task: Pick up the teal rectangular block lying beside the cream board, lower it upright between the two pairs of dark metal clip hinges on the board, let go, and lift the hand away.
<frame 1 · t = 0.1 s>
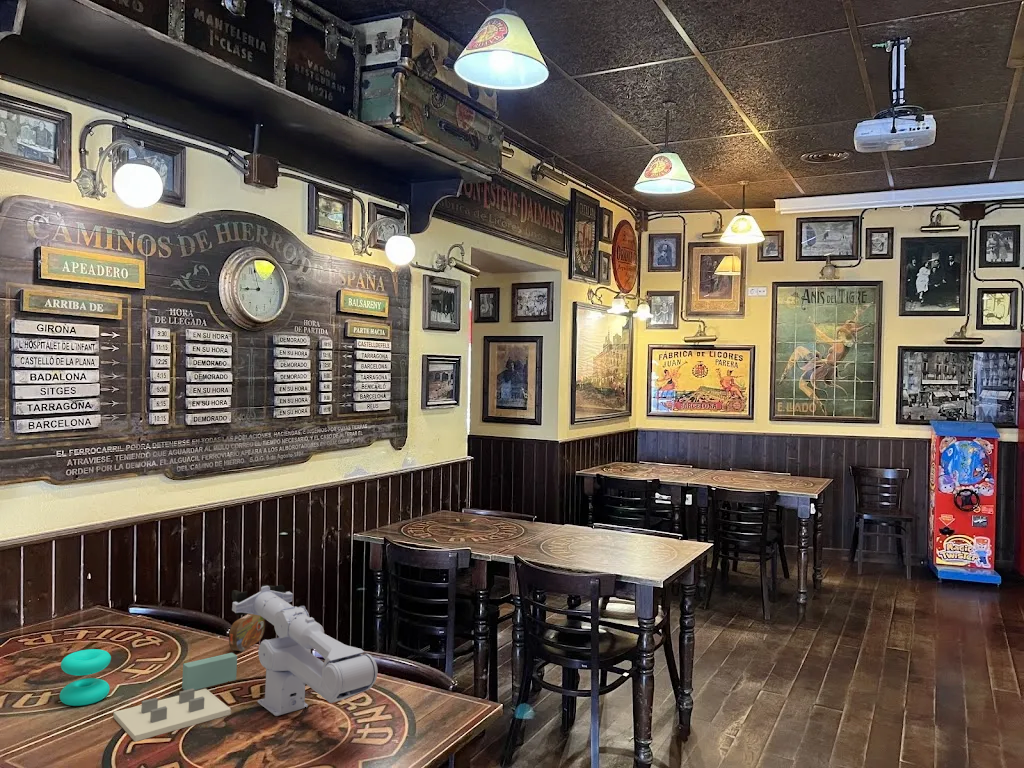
hand: (248, 591, 186), 22 cm above the table, tool horizontal, fingers open, 7 cm apart
teal rectangular block: (209, 684, 182), on the table
donuts: (84, 699, 171), on the table
hinge board: (172, 715, 164), on the table
tin: (246, 646, 208), on the table
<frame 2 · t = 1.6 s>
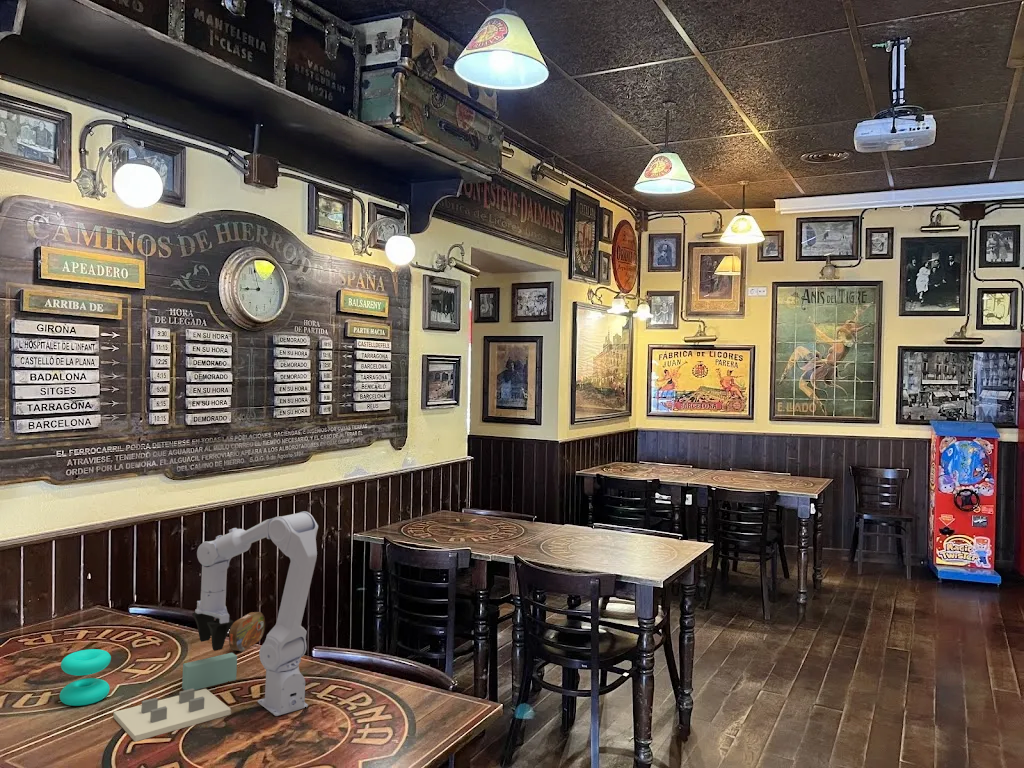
hand: (211, 645, 182), 9 cm above the table, tool pointing down, fingers open, 7 cm apart
nothing on the table moved.
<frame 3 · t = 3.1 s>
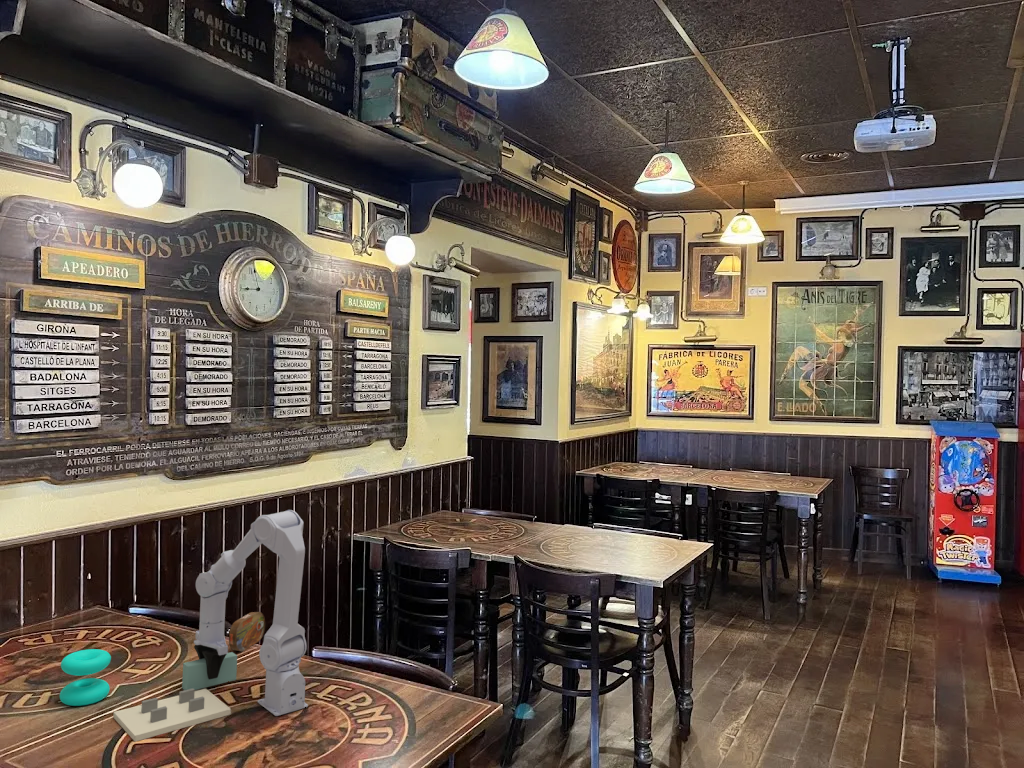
hand: (209, 675, 182), 2 cm above the table, tool pointing down, fingers closed on teal rectangular block, 3 cm apart
teal rectangular block: (209, 683, 182), on the table, touching gripper
everything else where it was.
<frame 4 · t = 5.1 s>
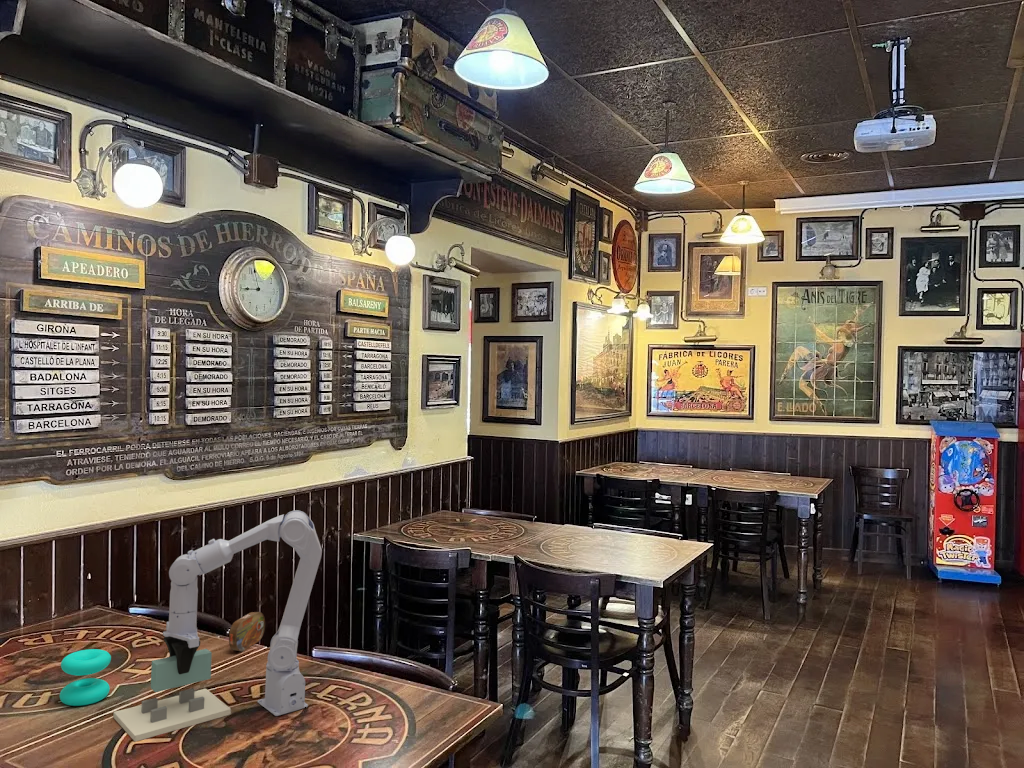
hand: (180, 670, 167), 9 cm above the table, tool pointing down, fingers closed on teal rectangular block, 3 cm apart
teal rectangular block: (181, 683, 167), point 6 cm above the table, touching gripper
everything else where it was.
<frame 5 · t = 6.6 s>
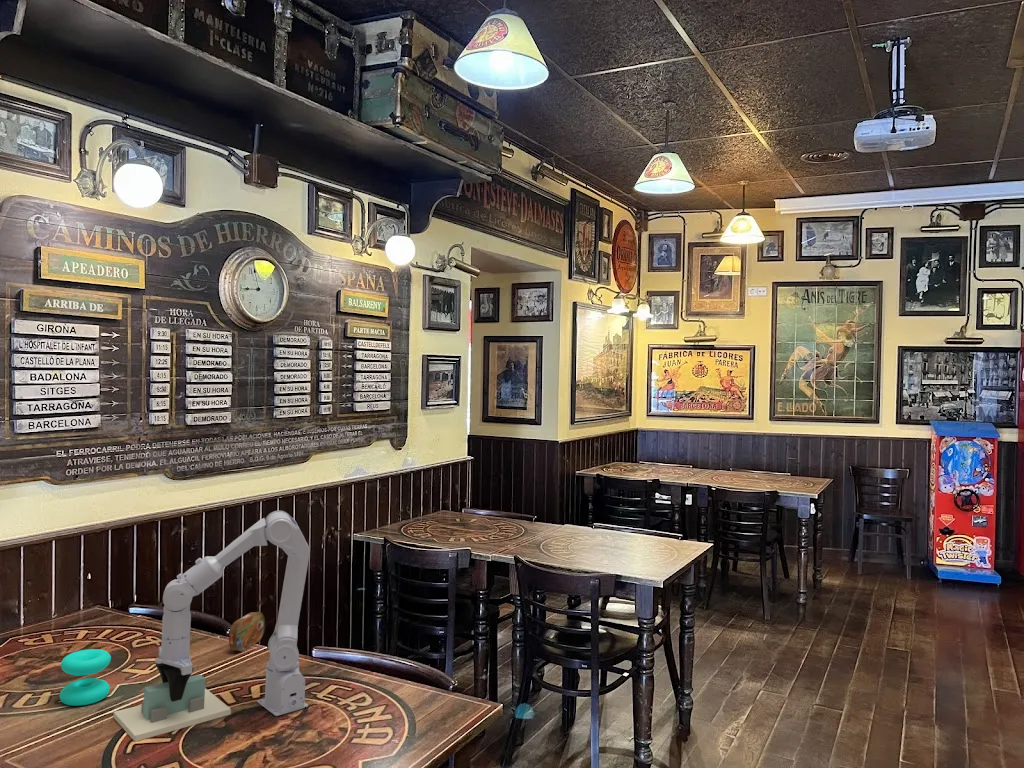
hand: (173, 697, 164), 4 cm above the table, tool pointing down, fingers closed on teal rectangular block, 3 cm apart
teal rectangular block: (174, 710, 165), point 1 cm above the table, touching gripper, hinge board
everything else where it was.
when the fingers open (4 cm above the table, at t = 7.2 s): teal rectangular block stays where it is, resting on hinge board.
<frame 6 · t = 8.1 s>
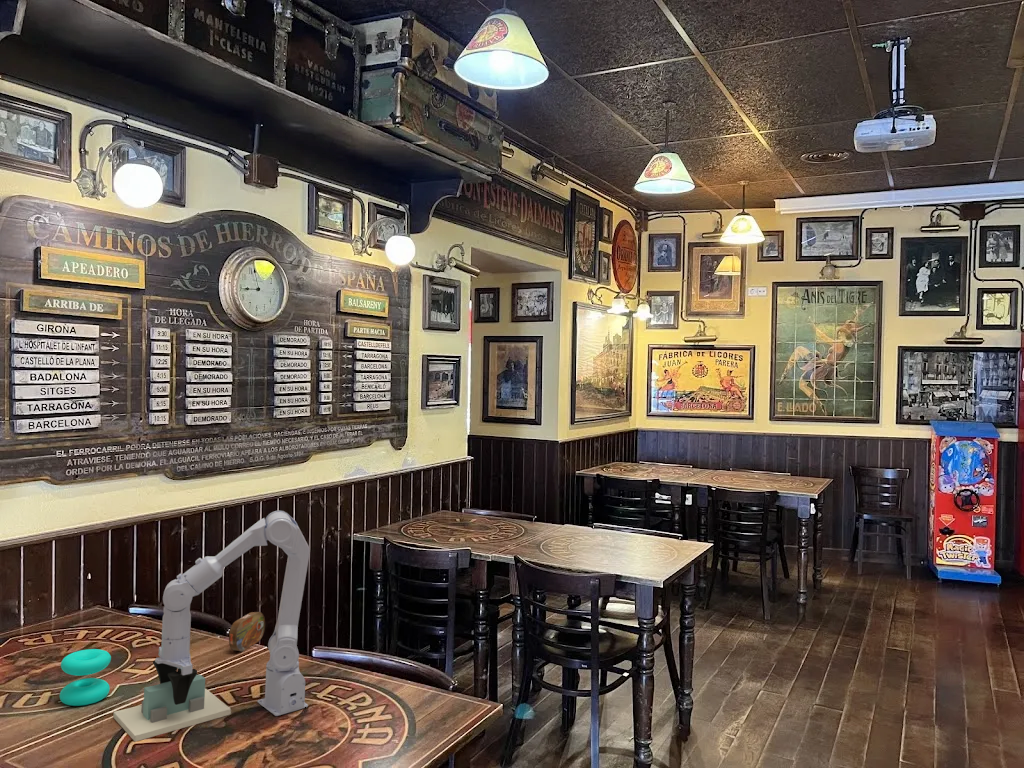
hand: (173, 697, 164), 4 cm above the table, tool pointing down, fingers open, 7 cm apart
teal rectangular block: (174, 710, 165), point 1 cm above the table, touching hinge board
everything else where it was.
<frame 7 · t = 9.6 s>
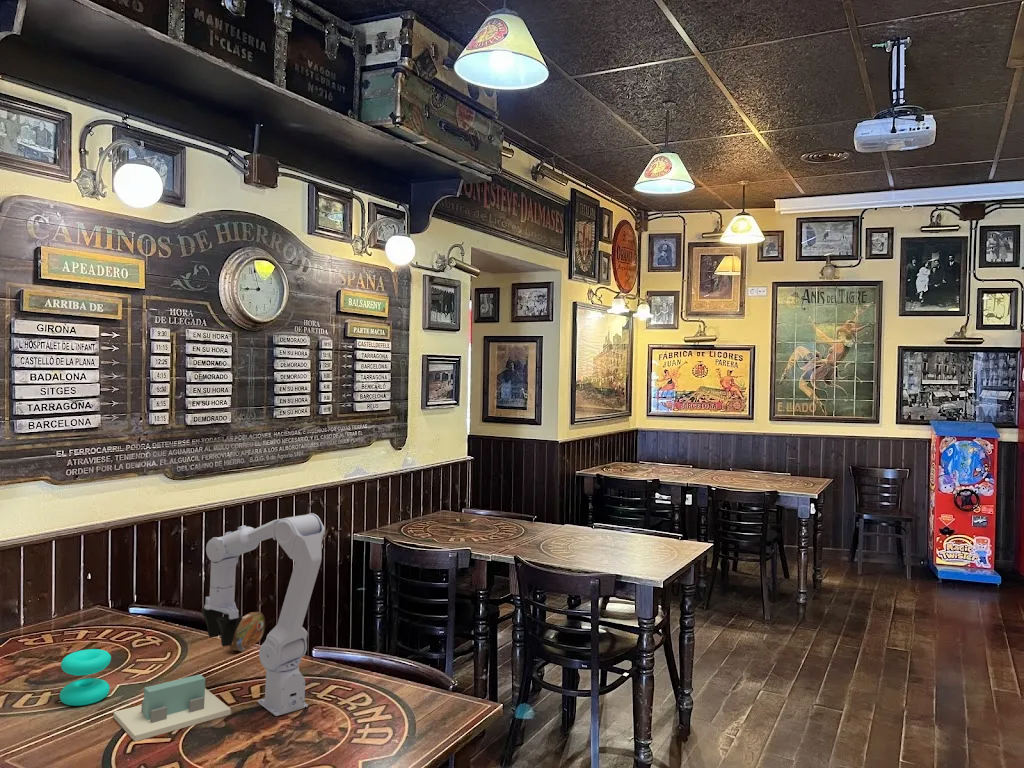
hand: (220, 640, 182), 10 cm above the table, tool pointing down, fingers open, 7 cm apart
nothing on the table moved.
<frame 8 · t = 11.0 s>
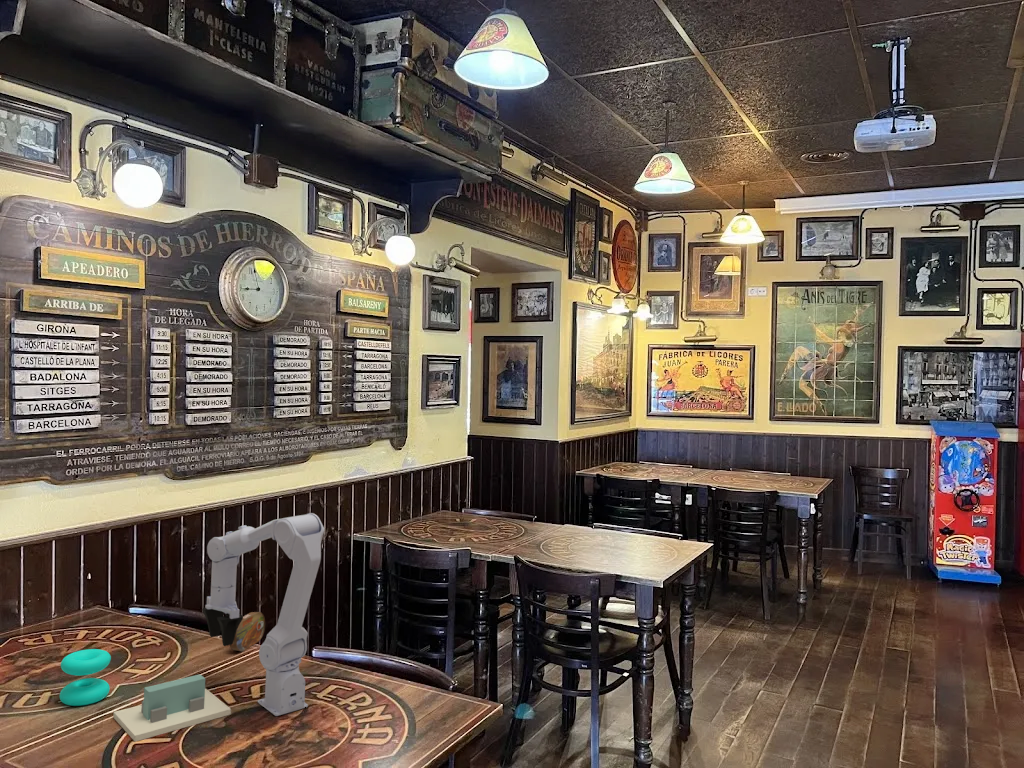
hand: (221, 640, 183), 10 cm above the table, tool pointing down, fingers open, 7 cm apart
nothing on the table moved.
at the end: teal rectangular block 0.3 cm off-centre on the hinge board, point 1.2 cm above the hinge board's base; teal rectangular block tilted 0°; the gripper is holding nothing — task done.
